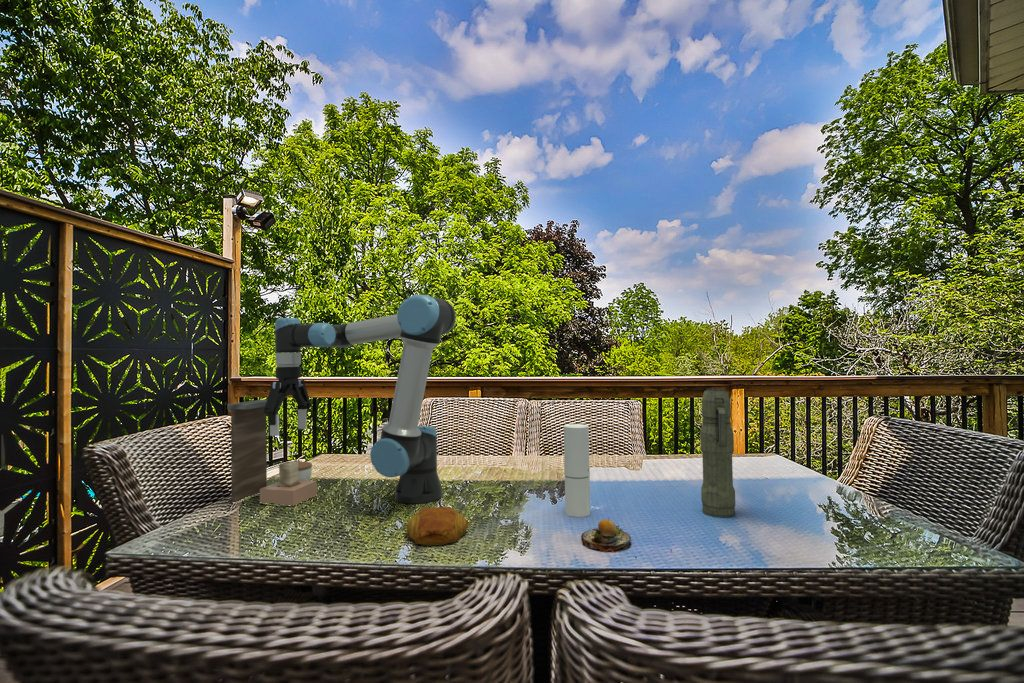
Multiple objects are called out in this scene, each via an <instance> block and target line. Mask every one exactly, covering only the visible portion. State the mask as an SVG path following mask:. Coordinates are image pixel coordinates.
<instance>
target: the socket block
mask: <svg viewBox="0 0 1024 683" xmlns="http://www.w3.org/2000/svg"><path fill="white" fill-rule="evenodd" d="M316 495H317V496H318V480H309V481H308V480H298V485H296V486H294V487H291V488H290V487H279V481H277V482H275V483H272V484H269V485H267V486H266V487H264V488H261V489H260V495H259V503H260V502H262V503H274V504H284V505H293V506H294V505H295V504H298V503H300V502H302V501H304V500H306V499H308V498H311V497H313V496H316ZM317 496H316V497H317Z"/></svg>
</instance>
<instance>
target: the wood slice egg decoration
mask: <svg viewBox="0 0 1024 683" xmlns="http://www.w3.org/2000/svg"><path fill="white" fill-rule="evenodd" d="M623 530H624V528H620V525H616V523H615V522H614V521H612V520H610V519H609V518H608V519H606V518H605V519H604V518H603V519H601V520H600V521H598V524H597V528H592V529H589V530H586V531H584V532H582V533H581V538H580V540H581V544H582V545H583V544H584V545H585V547H586V548H587V549H590V550H592V549H594V550H596V549H597V550H599V551H600V552H604V553H605V552H609V551H610V552H611V553H617V552H623V551H626V550H628V549H629V548H631V546H632V542H631V540H632V538H631V535H630V534H629V533H628V532H626V531H623Z"/></svg>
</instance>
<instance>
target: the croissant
mask: <svg viewBox="0 0 1024 683" xmlns="http://www.w3.org/2000/svg"><path fill="white" fill-rule="evenodd" d="M468 528H469V521H468V519H467V518H466V517H465V516H464V515H462V514H461V513H460V512H459V511H457V510H456V509H454V508H451V507H448V506H435V507H423V508H421V509H420V510H418V512H417V513H416V514H414V515H413V516H411V518H409V519H408V521H407V523H406V533H407V536H408V538H409V539H411V540H413V541H414V543H415V545H423V546H442V545H443V546H444V545H446V544H450V543H457V542H458V541H460V538H462V537H463V535H465V534H466V531H467V529H468Z"/></svg>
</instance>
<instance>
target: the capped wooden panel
mask: <svg viewBox="0 0 1024 683" xmlns="http://www.w3.org/2000/svg"><path fill="white" fill-rule="evenodd" d="M266 402H267V399H257V400H250V401H242V402H237V403H236V402H235V403H227V406H226V407H227V408H226V409H227V410H230V420H231V421H230V437H231V438H230V441H231V444H230V449H231V450H230V452H231V454H230V456H231V459H230V460H231V462H230V464H231V471H230V472H231V475H230V476H231V482H230V483H231V486H230V487H231V488H230V489H231V491H230V492H231V503H232V502H236V501H239V500H241V499H243V498H245V497H248V496H251V495H254V494H257V493H260V489H261V488H264V487H266V486H268V485H267V484H268V480H267V479H268V478H267V476H268V475H267V474H268V473H267V472H268V471H267V469H268V468H267V466H268V465H267V415H266V413H264V408H265V405H266Z"/></svg>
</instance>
